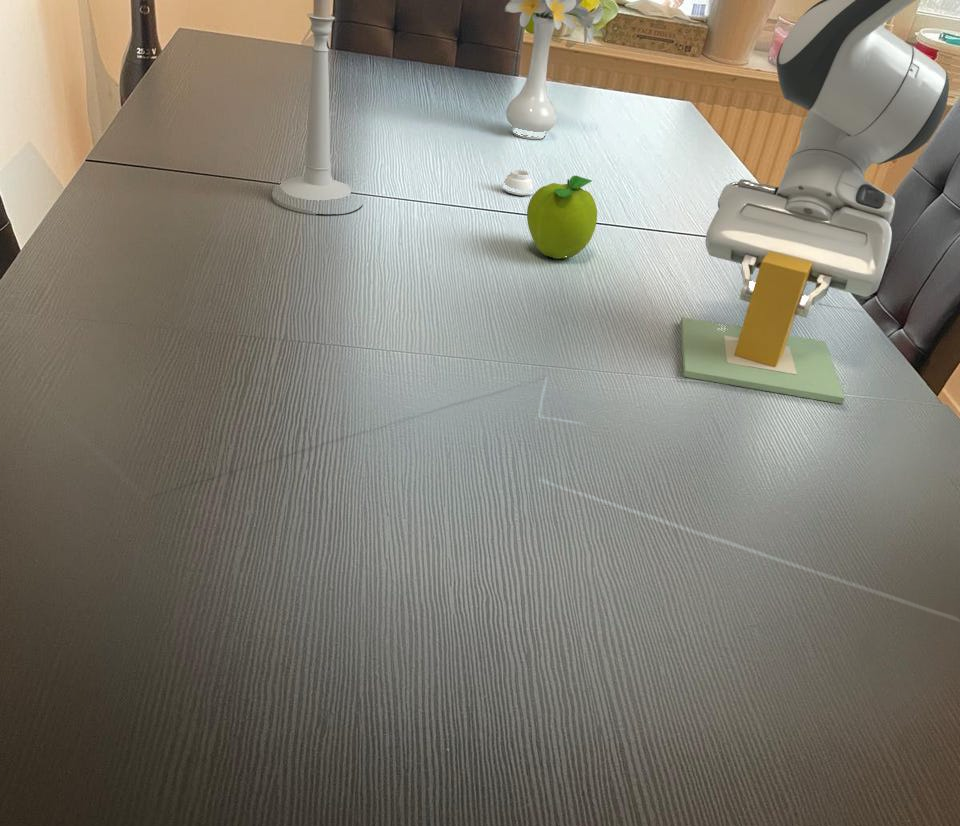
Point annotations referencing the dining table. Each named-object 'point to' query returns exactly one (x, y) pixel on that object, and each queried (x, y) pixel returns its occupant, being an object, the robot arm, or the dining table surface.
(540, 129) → the flower vase
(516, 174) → the white jar
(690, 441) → the dining table surface
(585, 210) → the fruit
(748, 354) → the yellow box
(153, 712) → the dining table surface
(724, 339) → the mat
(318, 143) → the candlestick
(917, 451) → the dining table surface
